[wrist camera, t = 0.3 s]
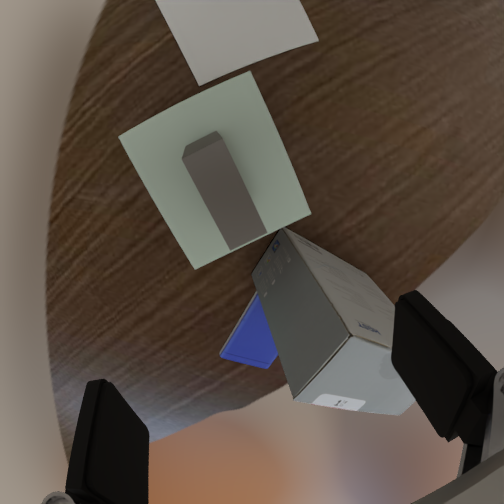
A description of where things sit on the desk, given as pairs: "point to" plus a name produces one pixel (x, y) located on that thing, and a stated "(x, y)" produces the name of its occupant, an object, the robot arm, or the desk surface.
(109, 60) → the desk surface
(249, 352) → the hard drive
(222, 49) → the mat
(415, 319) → the robot arm
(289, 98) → the desk surface
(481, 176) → the desk surface
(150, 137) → the lid
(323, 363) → the hard drive box
